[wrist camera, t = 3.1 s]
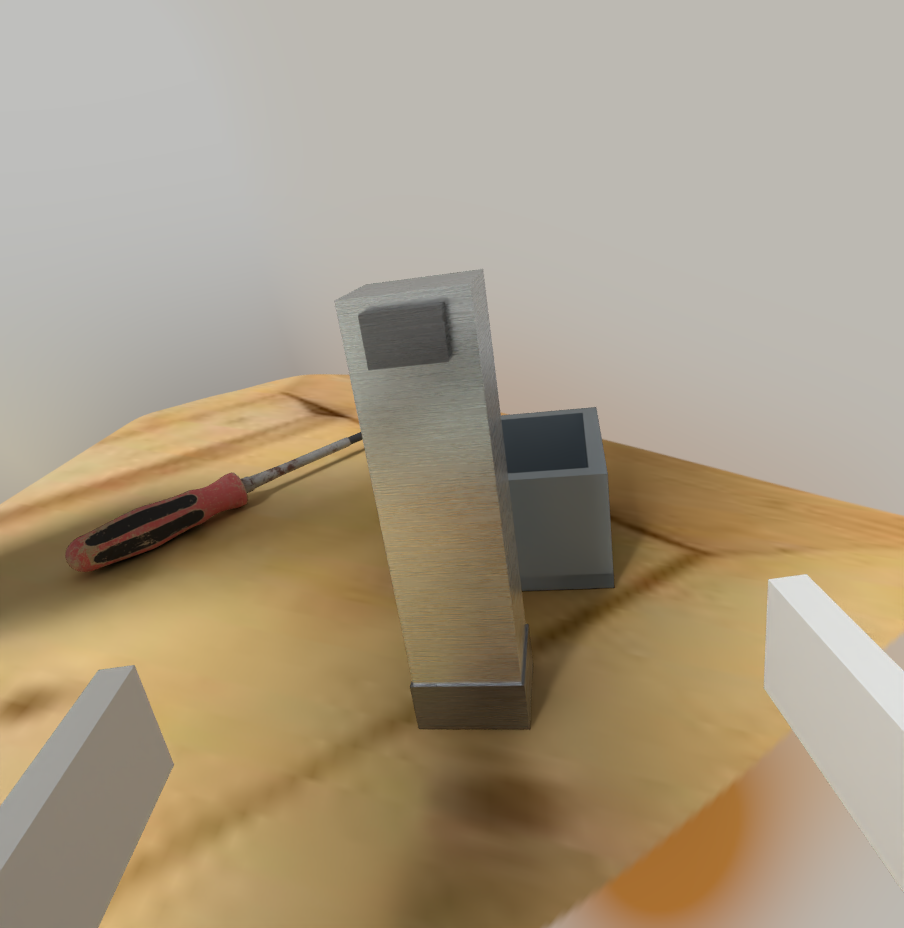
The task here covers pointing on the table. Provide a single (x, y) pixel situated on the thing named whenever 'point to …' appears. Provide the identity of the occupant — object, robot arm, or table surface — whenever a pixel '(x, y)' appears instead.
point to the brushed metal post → (442, 494)
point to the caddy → (559, 499)
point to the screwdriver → (176, 514)
